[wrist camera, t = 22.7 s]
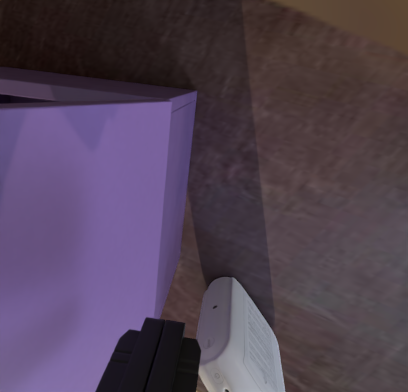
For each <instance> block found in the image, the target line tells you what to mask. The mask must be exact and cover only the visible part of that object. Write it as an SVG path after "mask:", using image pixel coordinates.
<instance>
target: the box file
mask: <svg viewBox="0 0 408 392" xmlns="http://www.w3.org/2000/svg"><path fill="white" fill-rule="evenodd" d="M196 98H197V91H196V90H188V89H180V88H172V87H164V86H156V85H148V84H140V83H132V82H123V81H115V80H107V79H99V78H91V77H83V76H75V75H67V74H59V73H51V72H43V71H35V70H27V69H18V68H10V67H0V104H8V103H40V102H71V101H103V100H135V99H164V100H171V101H172V108H171V120H170V132H169V144H168V156H167V168H166V180H165V192H164V204H163V216H162V228H161V240H160V252H159V264H158V276H157V288H156V300H155V312H154V318H156V319H160V316H161V313H162V310H163V307H164V304H165V301H166V298H167V295H168V291H169V288H170V285H171V282H172V279H173V276H174V273H175V270H176V267H177V264H178V261H179V258H180V251H181V241H182V231H183V222H184V212H185V203H186V193H187V184H188V174H189V165H190V155H191V145H192V136H193V126H194V117H195V107H196Z"/></svg>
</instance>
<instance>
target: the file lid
mask: <svg viewBox="0 0 408 392" xmlns="http://www.w3.org/2000/svg"><path fill="white" fill-rule="evenodd" d="M171 108H172V101H171V100H164V99H135V100H103V101H71V102H40V103H8V104H0V392H95V391H96V389H97V386H98V384H99V382H100V380H101V378H102V375H103V373H104V371H105V369H106V367H107V364H108V362H109V361H110V358H111V356H112V353H113V352H114V349H115V347H116V345H117V342H118V340H119V338H120V337H121V336H122V335H124V334H125V333H126V332H127V331H128V330H129V329H131V330H138V331H141V328H142V325H143V323H144V320H145V318H146V317H149V318H154V312H155V300H156V288H157V276H158V264H159V252H160V240H161V228H162V216H163V204H164V192H165V180H166V168H167V156H168V144H169V132H170V120H171Z"/></svg>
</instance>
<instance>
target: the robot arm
mask: <svg viewBox="0 0 408 392" xmlns="http://www.w3.org/2000/svg"><path fill="white" fill-rule="evenodd" d="M184 334H185V323H183V322H176V321H170V320H166V323H165V320H162V319H156V318H149V317H146V318H145V320H144V323H143V325H142V328H141V331H138V330H131V329H129V330H128V331H127V332H126V333H125V334H124V335H122V336H121V337H120V338H119V340H118V342H117V345H116V347H115V349H114V352H113V353H112V356H111V358H110V361H109V362H108V364H107V367H106V369H105V371H104V373H103V375H102V378H101V380H100V382H99V384H98V386H97V389H96V391H95V392H196V387H197V380H198V372H199V364H200V357H201V348H200V346H199V343H198V341H197V339H191V338H184Z"/></svg>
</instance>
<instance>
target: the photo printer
mask: <svg viewBox="0 0 408 392" xmlns="http://www.w3.org/2000/svg"><path fill="white" fill-rule="evenodd" d="M196 339H197V341H198V343H199V346H200V348H201V357H200V364H199V372H198V373H199V375H200V377H201V379H202V381H203V383H204V385H205V386H206V388H207V390H208V391H209V392H285V387H284V381H283V374H282V367H281V360H280V353H279V346H278V342H277V339H276V337H275V335H274V333H273V331H272V329H271V328H270V326H269V325H268V323H267V321H266V320H265V318H264V317H263V315H262V314H261V313H260V311H259V310H258V308H257V307H256V305H255V304H254V302H253V301H252V300H251V298H250V297H249V295H248V294H247V292H246V291H245V290H244V288H243V287H242V286H241V285H240V283H239V282H238V281H237V280H236V279H235V278H233V277H231V278H229V277H220V278H218V279H215V280H214V281H213V282H211V284H210V285H209V287H208V290H206V291H205V293H204V296H203V301H202V306H201V312H200V318H199V324H198V330H197V335H196Z"/></svg>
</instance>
